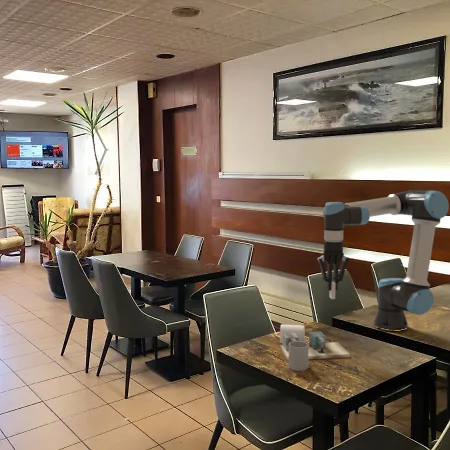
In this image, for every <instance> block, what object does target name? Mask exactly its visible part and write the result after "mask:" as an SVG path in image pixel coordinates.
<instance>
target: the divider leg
mask: <svg viewBox="0 0 450 450" xmlns="http://www.w3.org/2000/svg"><path fill="white" fill-rule="evenodd" d="M308 333H309V334H308V337H309V339H308V344H310V345H311V346H312V348H313V349H317V348H321V351H323V348H325V343H326V334H324V333H323V332H322V331H309V332H308Z"/></svg>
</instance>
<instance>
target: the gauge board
mask: <svg viewBox="0 0 450 450" xmlns="http://www.w3.org/2000/svg"><path fill="white" fill-rule="evenodd" d="M293 341H298V336H297V335H296V334H295V333H283V344H279V349H280V351H281V352H282V355H284V357H285V359H287V361H289V343H290V342H293ZM307 344H308V360H319V359H320V360H321V359H337V358H338V359H339V358H350V357H351V354H350V352H349V351H348V350H346V349H345V347H343V346H342V345H341V343H339V342H338V341H336V342H335V341H334V342H333V341H332V342H325V348H323V351H321V348H317V349H313V348H312V346H311V345H310V344H309V343H307Z"/></svg>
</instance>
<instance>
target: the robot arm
mask: <svg viewBox="0 0 450 450" xmlns="http://www.w3.org/2000/svg"><path fill="white" fill-rule="evenodd" d="M449 207H450V206H449V201H448V198H447V197H446V195H445V194H444V193H443V192H442V191H438V190H430V189H429V190H424V189H423V190H420V189H418V190H417V189H413V190H405V191H401V192H396V193H392V194H389V195H388V196H387V197H379V198H373V199H367V200H361V201H360V200H359V201H353V202H346V203H344V202H343V201H342V202H340V201H334V202H333V201H330V202H329V201H328V202H326V203H325V205H324V208H323V211H322V216H323V220H324V221H323V222H324V225H323V226H324V228H323V229H324V230H323V231H324V232H323V234H324V236H323V239H324V241H323V253H322V255H321V256H320V257H317V258H316V259H317V260H316V261H318V264H319V267H320V271H321V275H322V280H323V281H324V282H327V285H326V286H327V291H329V298H330V299H331V300H335V299H336V291H338V289H339V288H338V286H339V282H342V281H343V280H344V275H345V271H346V268H347V264H348V263H349V261H350V257H348V256H346V255H345V254H344V251H343V250H344V242H343V240H344V227H345V226H361V225H366V224H367V223H369V222H370V218H371V217H376V216H377V217H378V216H384V215H389V214H390V215H392V216H397V215H403V216H406V215H407V216H411V221H412V222H413V223H414V225H413V231H412V239H411V244H410V251H409V256H408V257H409V258H408V263H407V270H406V276H405V277H404V278H400V277H389V278H388V277H387V278H381V279H380V280H379V282H378V286H377V311H376V314H375V316H374V319H373V326H374V325H375V326H377V327H379V328H384V329H389V330H401V329H405V328H407V327H408V326H409V323H408V320H407V317H406V314H405V312H407V313H410V314H414V315H418V316H422V315H424V314H426V313H428V312H429V311H430V310H431V308H432V307H433V305H434V303H435V301H434V300H435V297H434V295H433V292H432V291H431V290H430V288H431V285H430V283H429V282H428V276H429V269H430V263H431V258H432V251H433V245H434V238H435V232H436V226H438V225H440V223H441V220H442V219H444V217H446V215H447V214H448V212H449ZM325 261H326V266H327V268H326V266H325ZM340 262H341V264H340ZM339 267H340V268H339ZM326 269H327V270H326Z"/></svg>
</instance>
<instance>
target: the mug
mask: <svg viewBox="0 0 450 450" xmlns="http://www.w3.org/2000/svg"><path fill="white" fill-rule="evenodd" d="M279 331H280V332H279V343H280V344H281V345H283V333H295V334H296V335H297V336H298V341H302V342H306V341H305V339H306V338H305V337H306V333H305V331H306V328H305V325H302V324H301V325H300V324H297V325H296V324H280V330H279Z"/></svg>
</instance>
